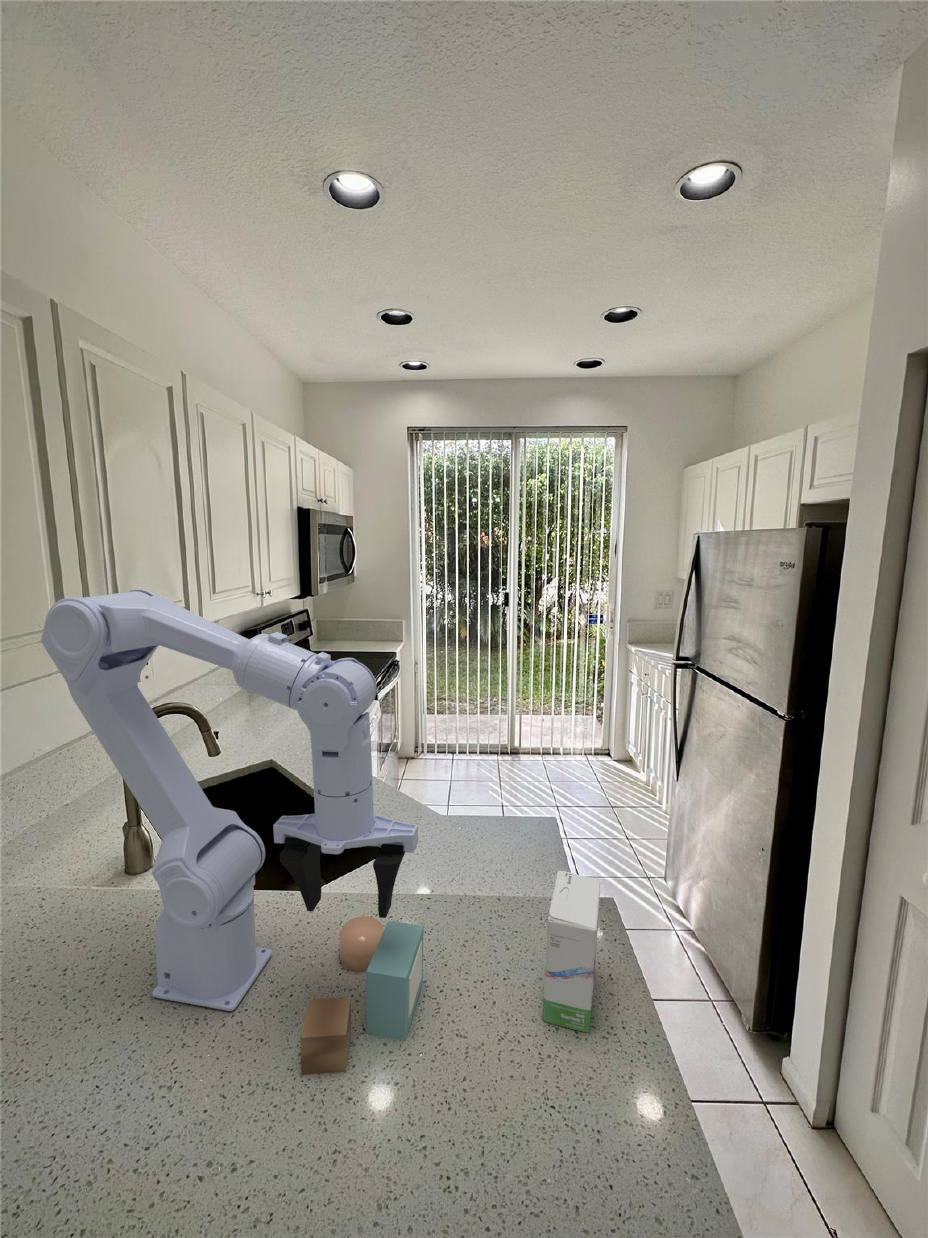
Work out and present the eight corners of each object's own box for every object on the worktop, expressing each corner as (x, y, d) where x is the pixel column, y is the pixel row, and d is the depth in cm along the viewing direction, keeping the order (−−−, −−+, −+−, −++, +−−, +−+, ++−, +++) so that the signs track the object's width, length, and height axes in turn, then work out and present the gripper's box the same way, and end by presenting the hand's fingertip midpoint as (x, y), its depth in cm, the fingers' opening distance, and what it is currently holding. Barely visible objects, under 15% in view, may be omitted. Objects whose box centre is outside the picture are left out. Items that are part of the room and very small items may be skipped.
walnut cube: (301, 1076, 48) (300, 1038, 47) (309, 1035, 52) (308, 999, 51) (346, 1072, 48) (345, 1035, 48) (350, 1032, 52) (350, 997, 52)
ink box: (590, 1036, 53) (598, 930, 51) (540, 1021, 54) (546, 918, 52) (594, 970, 61) (601, 876, 59) (551, 959, 62) (557, 867, 60)
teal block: (365, 1034, 52) (365, 971, 51) (387, 976, 59) (387, 920, 58) (406, 1041, 52) (407, 978, 50) (423, 982, 58) (424, 926, 57)
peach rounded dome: (332, 968, 60) (332, 944, 60) (349, 936, 65) (349, 914, 64) (375, 975, 59) (375, 951, 59) (388, 942, 64) (388, 919, 64)
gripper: (253, 799, 49) (263, 929, 51) (404, 808, 47) (408, 943, 49) (288, 767, 56) (296, 883, 58) (421, 774, 54) (424, 894, 56)
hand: (349, 908), depth 54 cm, fingers open, 7 cm apart
